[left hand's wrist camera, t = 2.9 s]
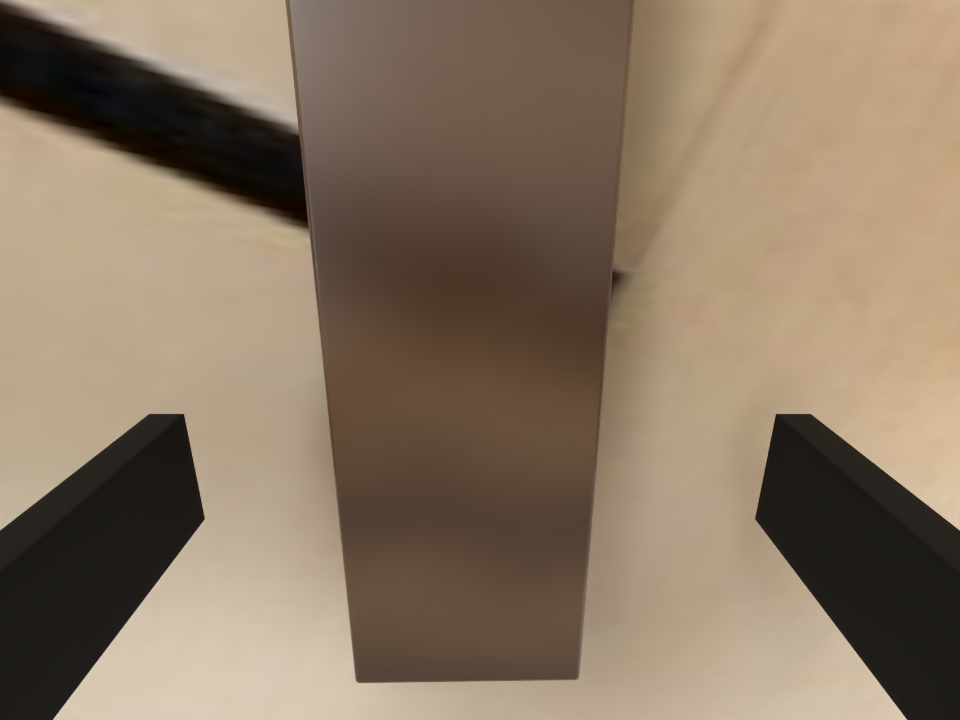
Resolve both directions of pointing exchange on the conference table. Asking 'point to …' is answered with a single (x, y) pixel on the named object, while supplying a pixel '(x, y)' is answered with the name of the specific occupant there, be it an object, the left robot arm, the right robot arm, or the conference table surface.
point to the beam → (463, 315)
